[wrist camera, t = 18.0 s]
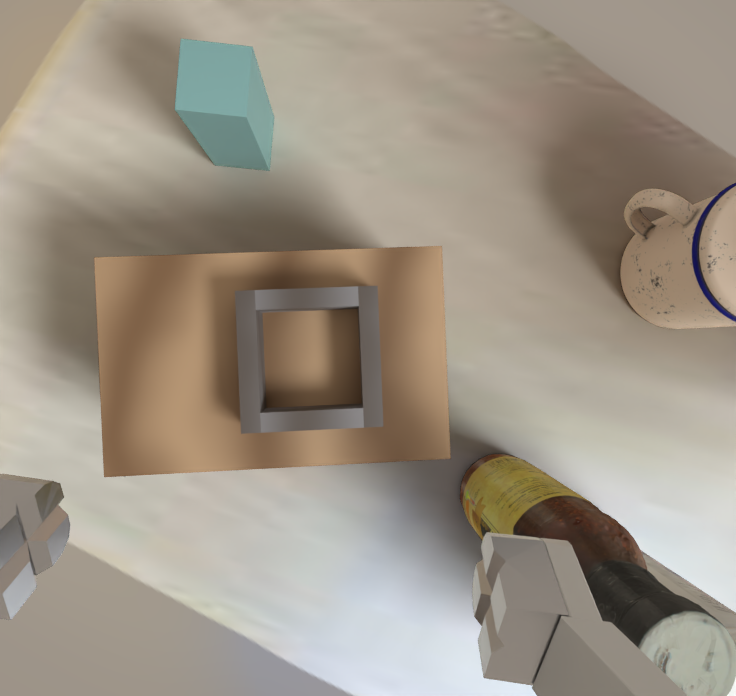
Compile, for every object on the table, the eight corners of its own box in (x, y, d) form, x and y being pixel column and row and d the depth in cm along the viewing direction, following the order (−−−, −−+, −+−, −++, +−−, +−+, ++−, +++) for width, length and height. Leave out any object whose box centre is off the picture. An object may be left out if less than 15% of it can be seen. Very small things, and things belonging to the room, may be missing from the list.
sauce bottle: (440, 497, 37) (551, 674, 17) (492, 433, 37) (662, 534, 17) (506, 551, 37) (691, 788, 17) (557, 487, 37) (799, 648, 17)
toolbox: (416, 272, 37) (449, 238, 25) (423, 429, 37) (458, 467, 25) (152, 281, 36) (61, 250, 24) (160, 442, 36) (72, 488, 24)
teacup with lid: (751, 258, 38) (931, 220, 26) (686, 355, 38) (838, 360, 26) (627, 168, 37) (754, 88, 26) (561, 266, 37) (659, 230, 26)
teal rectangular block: (274, 116, 36) (252, 46, 28) (269, 170, 36) (246, 117, 28) (219, 111, 36) (180, 38, 28) (214, 165, 36) (174, 109, 28)
